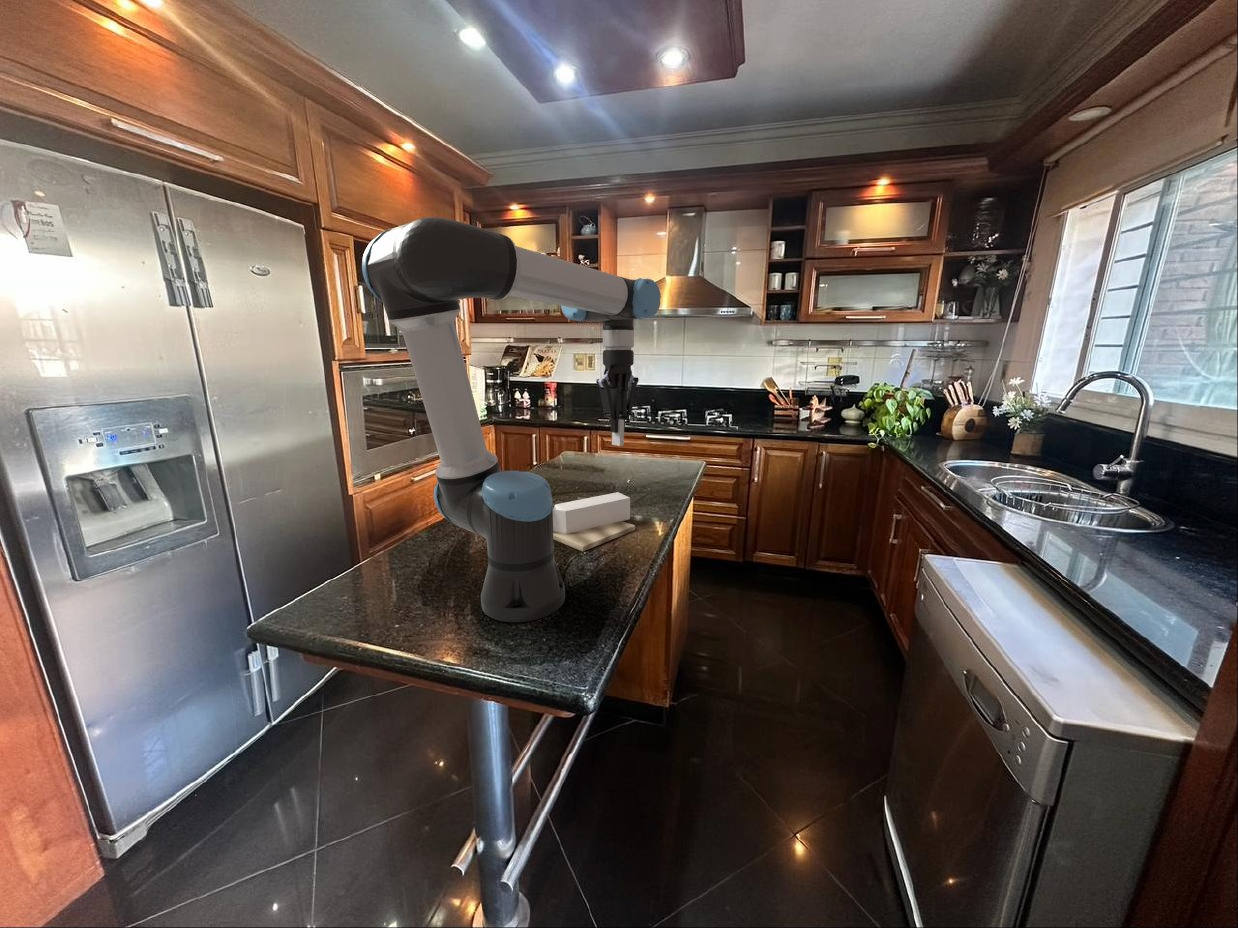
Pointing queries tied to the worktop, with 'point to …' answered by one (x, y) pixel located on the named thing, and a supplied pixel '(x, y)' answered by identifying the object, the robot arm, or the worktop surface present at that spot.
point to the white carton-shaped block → (590, 512)
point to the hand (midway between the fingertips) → (617, 444)
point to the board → (594, 535)
